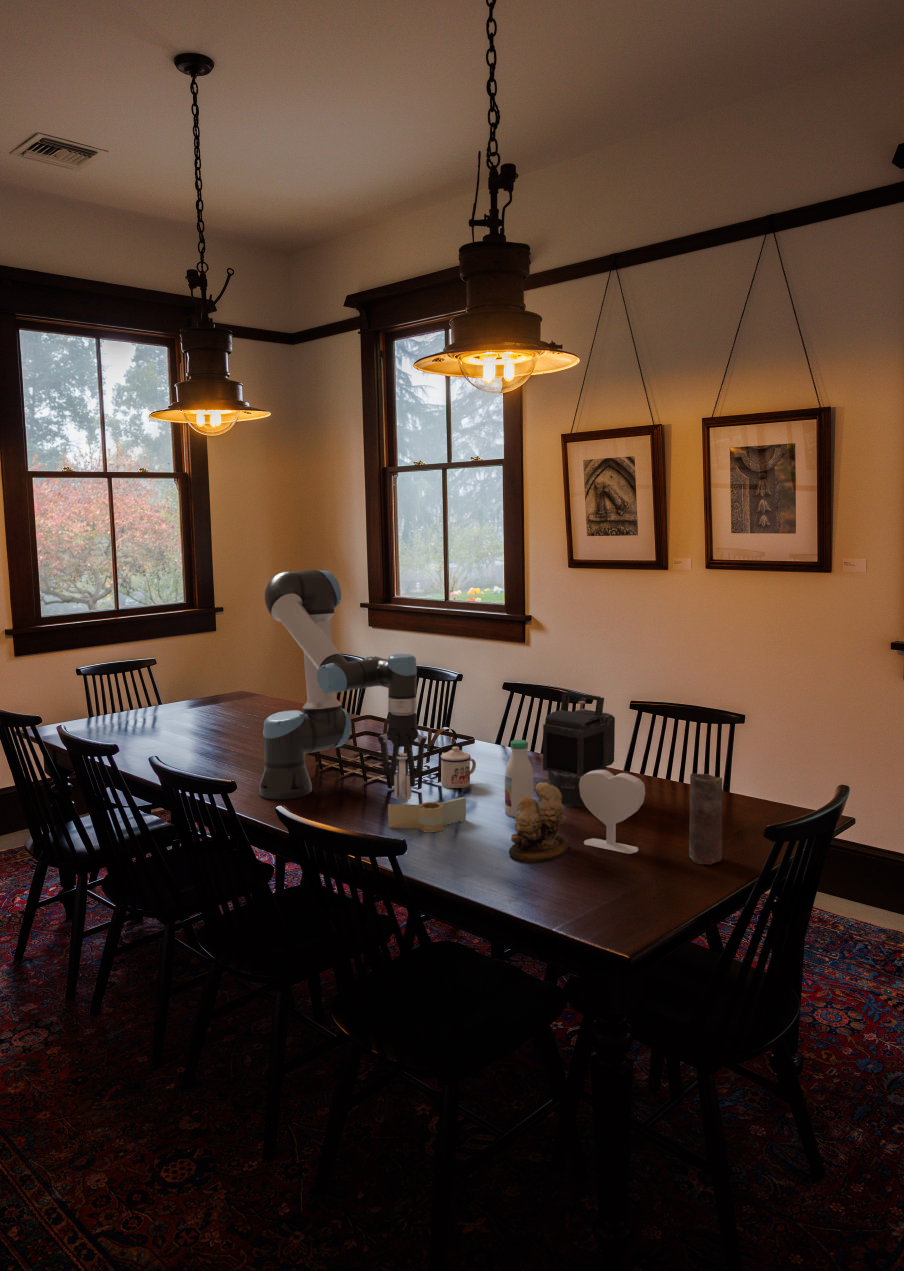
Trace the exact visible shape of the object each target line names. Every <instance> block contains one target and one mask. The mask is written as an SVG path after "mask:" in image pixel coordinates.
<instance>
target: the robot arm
mask: <svg viewBox="0 0 904 1271" xmlns="http://www.w3.org/2000/svg"><path fill="white" fill-rule="evenodd" d="M265 587H266V588H265V590H264V602H265V603H264V604H265V606H266V610H267V611H268V613H269V614H270V616H271V617H272V618H273V619H274V620H275V621H277V622H280V623H281V624H282V625H283V627H284V628H285V629H286V630H287V632H288V633H289V634H290V636H291V637H292V638H293V640H294V641H295V642H296V643H297V644H298V646H299V647H300V648H301V651H303V659H304V660H303V661H304V662H303V663H304V664H303V665H304V672H305V673H304V674H305V685H306V688H305V690H306V698H307V700H306V703H305V704H304V705H303V706H302V711H301V710H298V709H297V710H294V709H293V710H284V711H279V712H275V713H272V714H271V715H269V716H267V717H266V718H265V719H264V722H263V732H262V736H263V749H264V750H263V751H264V754H263V755H264V770H263V773H262V775H261V776H262V777H261V779H260V783H259V795H260V797H262V798H264V799H268V800H269V799H270V800H281V801H282V800H292V799H299V798H303V797H305V796H307V795H310V794H311V793H312V791H313V787H312V786H313V785H312V780H311V778H310V775H309V772H308V770H307V766H306V754H311V753H315V752H316V753H317V752H321V751H326V750H334V749H335V748H338V747H342V746H343V745H345V744H347V741H348V740H349V738H350V736H351V732H352V720H351V717H350V715H349V713H348V711H347V710H346V709H344V708H343V707H342V703H341V701H339V700H338V698H337V697H336V696H337V694H336V693H341V692H347V691H353V690H357V689H359V690H360V689H366V688H373V687H382V688H387V690H388V693H387V694H388V695H387V697H388V698H387V700H388V701H387V702H388V704H387V706H388V712H389V713H388V729H387V731H386V733H384V734H380V735H379V736H378V737H377V740H378V742H379V745H380V751H381V759H382V767H383V770H382V771H383V772H384V773H388V774H389V775H390V777H389V779H390V781H389V782H390V783H389V784H390V786H392V787H393V788H394V789H393V790H394V794H393V795H394V797H393V798H394V800H395V799H396V800H398V771H397V768H398V759H396V756H397V755H398V753H400V752H399V751H400V748H401V747H403V748H404V749H405V753H407V756H408V775H407V799H408V800H411V798H412V788H413V787H415V785H416V774H421V771H422V769H423V761H424V751H425V745H426V742H427V740H428V736H427V735H423V734H422V735H421V734H420V733H419V731H418V728H417V727H418V726H417V725H418V724H417V722H418V721H417V713H416V711H417V709H418V708H417V704H418V703H417V700H418V699H417V682H418V681H417V679H418V678H417V676H418V675H417V673H418V669H417V658H416V656H414V655H413V654H409V653H407V654H406V653H395V654H390V655H389V656H388V659H387V658H382V657H379V656H366V657H364V658H363V659H362V660H361V659H360V660H354V661H353V660H352V661H348V660H347V659H345V657H344V656H343V655H342V654H341V653H340V651H339V650H338V649H337V647H336V646H335V645H334V644H333V642H332V630H331V629H332V628H331V619H332V618H333V616H335V615H336V614H335V609H336V608H337V607H338V606H339V605H340V603H341V602H340V601H341V600H342V591H341V590H342V588H341V585H340V583H339V581H338V578H337V577H336V576H335V575H334V574H333V573H332V572H331V571H328V570H320V569H318V570H317V569H313V570H295V571H291V570H290V571H282V572H280V573H277V574H276V575H274V576H273V577H271V579H270V580H269V581H268V582H267V585H266V586H265ZM388 739H389V741H390V742H391V743H392V755H391V756H392V757H391V763H390V759H389V751H388ZM416 740H417V743H418V748H417V750H418V751H417V759H416V760H417V761H416V766H415V759H414V752H413V743H414V742H415V741H416Z"/></svg>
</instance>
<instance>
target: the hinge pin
mask: <svg viewBox="0 0 904 1271" xmlns="http://www.w3.org/2000/svg"><path fill="white" fill-rule="evenodd" d="M396 759H398V760H397V773H398V798H397V802H398V803H400V804H401V803H403V804H405V803H408V801H409V799H407V775H408V773H409V766H408V756H407V752H399V753H398V755H397V756H396Z"/></svg>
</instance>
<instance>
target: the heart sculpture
mask: <svg viewBox="0 0 904 1271" xmlns="http://www.w3.org/2000/svg"><path fill="white" fill-rule="evenodd" d="M579 789H580V796H581V798H582V800H583V802H584V804H585V806H584V807H586V808H587V809H588V811H589V812H590V813H591V814H592V815H593V816H595V817H596V819H598V820H599V821H600V822H601V823H603V824H604V826H606V828H605V829H606V830H605V831H606V836H605V837H606V838H605V840H604V839H600V838H593V837H591V838H589V839H585V840H584V841H583V843H584V844H583V845H585V846H591V847H595V848H600V849H605V850H609V851H610V850H611V851H614V852H619V853H623V854H628V855H629V854H630V855H631V854H634V853H635V854H636V853H637V852H638V851H639V847H637V846H633V845H628V844H625V843H619V842H616V838H617V837H616V826H617V825H616V824H619V823H621V822H623V821H625V820H626V819H628V818H629V817H631V816H632V815H634V814H635V813H636V812H638V811H639V809H640V808H641V806H642V805H643V803H645V802H644V801H645V796H646V787H645V783H644V782H643V781H642V780H641V779H640V778H638V777H637V776H634V775H633V774H630V773H626V772H620V773H618V774H616V775H615V774H613V773H612V772H610V771H609V770H607V769H605V770H595V771H590V772H588V773H587V774H585V775H583V776H582V777H581V778H580V782H579Z"/></svg>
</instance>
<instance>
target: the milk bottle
mask: <svg viewBox="0 0 904 1271" xmlns="http://www.w3.org/2000/svg"><path fill="white" fill-rule="evenodd" d="M528 747H529V741H527V740H525V739H513V740H511V741H510V750H511V751H510V752H511V753H510V757H509V760H507V761H508V762H507V764H506V766H505V772H504V813H505V815H506V816H509V817H512V818H516V813H517V808H518V805H519V803H520V799H521V798H523V797H529V798H532V799H533V800H535V799H534V798H535V797H534V792H535V791H534V784H535V783H534V780H535V779H534V769H533V765H532V762H531V761H530V758H529V756H528V750H529V748H528Z"/></svg>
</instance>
